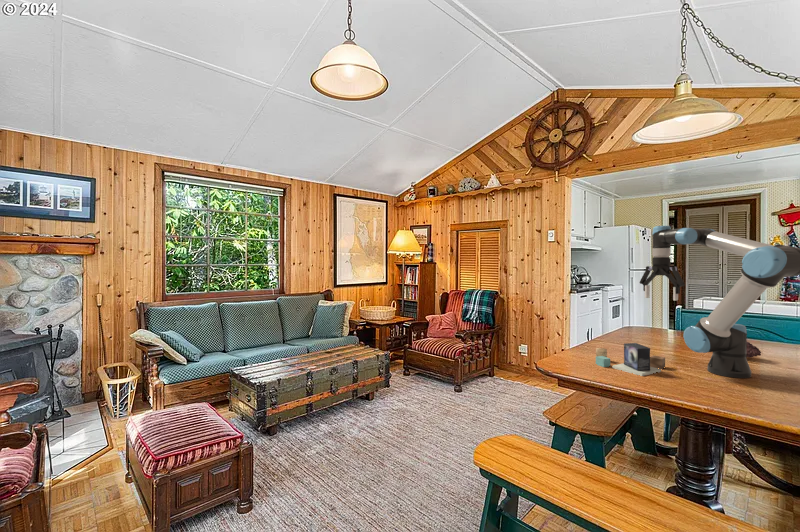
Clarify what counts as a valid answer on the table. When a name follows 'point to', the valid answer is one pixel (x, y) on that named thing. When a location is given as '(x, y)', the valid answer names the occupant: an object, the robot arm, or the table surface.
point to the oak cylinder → (601, 352)
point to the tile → (631, 370)
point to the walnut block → (657, 362)
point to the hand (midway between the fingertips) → (661, 299)
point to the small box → (637, 356)
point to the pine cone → (752, 350)
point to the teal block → (603, 361)
